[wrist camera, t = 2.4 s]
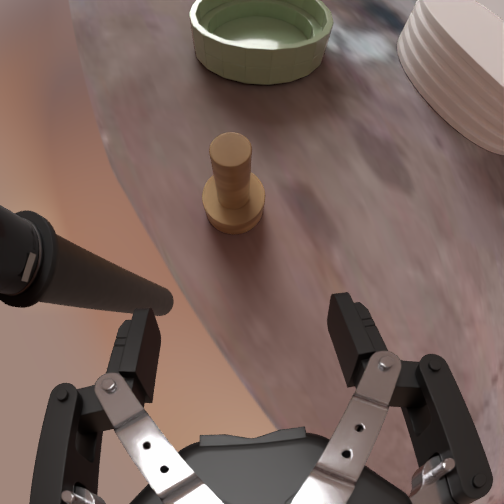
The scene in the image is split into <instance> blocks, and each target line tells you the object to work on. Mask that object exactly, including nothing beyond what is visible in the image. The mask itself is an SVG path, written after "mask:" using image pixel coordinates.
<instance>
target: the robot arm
mask: <svg viewBox="0 0 504 504" xmlns="http://www.w3.org/2000/svg"><path fill="white" fill-rule="evenodd" d="M43 260H44V243H43V238H42V235H41V233H40V231H39V229H38V227H37V226H36V225H35V224H34V223H32V222H31V221H29V220H27V219H25V218H22V217H20V216H18V215H16V214H15V213H13V212H11V211H10V210H8V209H6V208H4V207H2V206H1V205H0V293H3V294H5V295H10V296H19V295H22V294H24V293H26V292H27V291H28V290H29V289H30V288H31V287H32V286H33V285H34V284H35V282H36V280H37V279H38V277H39V274H40V272H41V269H42V265H43ZM327 325H328V331H329V334H330V337H331V340H332V342H333V345H334V348H335V351H336V354H337V357H338V360H339V363H340V366H341V369H342V372H343V375H344V378H345V381H346V384H347V387H353V386H355V387H356V391H355V393H354V394H353V396H352V398H351V400H350V402H349V404H348V406H347V408H346V410H345V412H344V414H343V416H342V418H341V420H340V422H339V424H338V426H337V428H336V430H335V431H334V433H333V435H332V437H331V439H330V440H329V439H328V438H325V437H323V436H320V435H317V434H312V433H306V430H305V427H298V428H291V429H283V430H278V431H275V432H272V433H269V434H266V435H263V436H260V437H257V438H245V437H238V436H232V435H225V434H224V435H200V442H196V443H193V444H191V445H189V446H187V447H185V448H183V449H182V450H180V451H179V452H177V451H176V450H175V449H174V448H173V447H172V445H171V444H170V443H169V441H168V440H167V439H166V437H165V436H164V435H163V433H162V432H161V431H160V430H159V428H158V427H157V426H156V424H155V423H154V421H153V420H152V419H151V417H150V416H149V415H148V413H147V412H146V411H145V410H144V403H152V401H153V393H154V386H155V379H156V371H157V365H158V358H159V352H160V346H161V335H160V330H159V328H158V324H157V321H156V318H155V315H154V312H153V310H152V308H136V309H135V310H134V313H133V316H132V320H125V321H124V323H123V324H122V325H121V326H120V328H119V329H118V333H117V336H116V340H115V343H114V347H113V350H112V353H111V357H110V361H109V364H108V368H107V372H106V374H104V375H102V376H101V377H99V378H98V380H97V381H96V383H95V385H92V386H89V387H85V388H81V389H76V388H75V387H74V386H73V385H72V384H70V383H62V384H59V385H57V386H56V387H55V388H54V389H53V390H52V392H51V394H50V398H49V401H48V405H47V409H46V413H45V418H44V421H43V426H42V430H41V435H40V440H39V444H38V450H37V455H36V460H35V466H34V473H33V479H32V486H31V495H30V503H29V504H106V503H105V502H104V500H103V499H102V498H101V497H99V496H97V490H98V475H99V463H100V452H101V443H102V434H103V431H106V430H110V429H114V431H115V433H116V435H117V436H118V438H119V439H120V441H121V443H122V444H123V446H124V448H125V449H126V451H127V452H128V454H129V455H130V457H131V459H132V460H133V462H134V463H135V465H136V466H137V467H138V469H139V470H140V472H141V473H142V475H143V476H144V477H145V479H146V480H147V482H148V483H149V484H148V485H147V486H146V487H145V488H144V489H143V490H142V491H141V492H140V493H139V494H138V495H137V496H136V497H135V499H134V500H133V501H132V502H131V503H130V504H470V503H472V502H474V501H476V500H478V499H480V498H481V497H483V496H485V495H486V494H487V493H488V492H489V490H490V489H491V487H492V483H493V476H492V472H491V469H490V466H489V463H488V460H487V457H486V455H485V452H484V449H483V446H482V444H481V441H480V438H479V436H478V433H477V430H476V428H475V425H474V423H473V420H472V418H471V415H470V413H469V411H468V408H467V406H466V404H465V401H464V399H463V397H462V394H461V392H460V390H459V388H458V386H457V383H456V381H455V379H454V377H453V375H452V373H451V371H450V369H449V366H448V364H447V363H446V361H445V360H444V359H443V358H442V357H440V356H438V355H435V354H428V355H425V356H424V357H422V359H421V360H420V362H412V361H402V360H400V359H399V357H398V356H397V355H395V354H394V353H392V352H389V351H388V350H387V348H386V345H385V343H384V341H383V339H382V337H381V335H380V333H379V331H378V329H377V327H376V326H375V323H374V321H373V319H372V317H371V315H370V313H369V311H368V309H367V308H366V307H365V306H364V305H363V304H361V303H360V302H356V303H354V302H353V300H352V298H351V296H350V294H349V293H348V292H345V293H337V294H332V295H331V298H330V305H329V311H328V318H327ZM389 406H393V407H401V409H402V412H403V415H404V418H405V421H406V425H407V428H408V431H409V434H410V438H411V441H412V444H413V448H414V451H415V455H416V458H417V462H418V465H419V469H417V470H416V471H415V473H414V474H413V477H412V490H411V493H410V495H409V497H408V496H407V494H406V493H404V492H403V491H402V490H400V489H399V488H397V487H396V486H394V485H393V484H391V483H390V482H388V481H387V480H385V479H384V478H382V477H381V476H379V475H378V474H377V473H375V472H374V471H372V470H371V469H369V468H368V467H367V466H365V464H366V462H367V459H368V457H369V455H370V453H371V451H372V448H373V446H374V444H375V442H376V439H377V437H378V434H379V432H380V430H381V427H382V425H383V422H384V420H385V417H386V415H387V412H388V409H389Z"/></svg>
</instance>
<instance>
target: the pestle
mask: <svg viewBox="0 0 504 504" xmlns="http://www.w3.org/2000/svg"><path fill="white" fill-rule="evenodd" d="M209 153H210V159H211V164H212V169H213V176H212V177H211V178H210V179H209V180H208V181H207V183H206V184H205V187H204V189H203V194H202V201H203V205H204V208H205V211H206V214H207V217H208V220H209V221H210V223H211V224H212V225H213V226H214V227H215V228H216V229H218V230H219V231H221V232H223V233H226V234H242V233H245V232H247V231H249V230H251V229H252V228H253V227H255V226H256V224H257V223H258V222H259V220H260V219H261V216H262V213H263V208H264V202H265V191H264V187H263V185H262V183H261V181H260V180H259V179H258V178H257V177H256V176H255V175H254V174H253V173H251V155H252V147H251V144H250V142H249V140H248V139H247V138H246V137H245V136H243V135H241V134H239V133H235V132H227V133H223V134H221V135H219V136H217V137H216V138H215V139H214V140H213V141H212V143H211V145H210V149H209Z"/></svg>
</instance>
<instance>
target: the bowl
mask: <svg viewBox="0 0 504 504" xmlns="http://www.w3.org/2000/svg"><path fill="white" fill-rule="evenodd" d="M189 17H190V24H191V31H192V38H193V44H194V49H195V53H196V56H197V58H198V60H199V61H200V62H201V63H202V64H203V65H204V66H205V67H206V68H207V69H208V70H210V71H212V72H214V73H216V74H218V75H220V76H221V77H223V78H227V79H231V80H235V81H239V82H243V83H249V84H266V85H270V84H277V83H285V82H291V81H294V80H296V79H299V78H302V77H304V76H307V75H309V74H310V73H311V72H312V71H314V70H315V69H316V68H317V67H318V66H320V64H321V62H322V59H323V57H324V54H325V51H326V48H327V44H328V41H329V37H330V34H331V30H332V27H333V19H332V15H331V12H330V10H329V9H328V8H327V7H326V6H325V4H324V3H323V2H322V1H321V0H197V1H196V2H195V3H194V4H193V5H192V8H191V11H190V13H189Z"/></svg>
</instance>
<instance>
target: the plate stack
mask: <svg viewBox="0 0 504 504" xmlns="http://www.w3.org/2000/svg"><path fill="white" fill-rule="evenodd" d="M397 52H398V57H399V60H400V62H401V65H402V67H403V69H404V71H405V72H406V74H407V76H408V78H409V79H410V81H411V82H412V84H413V85H414V86H415V88H416V89H417V90H418V92H419V93H420V94H421V95H422V97H423V98H424V99H425V100H426V101H427V102H428V103H429V105H430V106H431V107H432V108H433V109H434V110H435V111H436V112H437V113H438V114H439V115H440V116H441V117H442V118H443V119H444V120H445V121H446V122H448V123H449V124H450V125H451V126H452V127H453V128H454V129H456V130H457V131H458V132H459V133H461V134H462V135H463V136H465V137H466V138H467V139H469V140H470V141H472V142H473V143H475V144H477V145H478V146H480V147H482V148H484V149H486V150H488V151H490V152H493V153H496V154H500V155H504V21H503V20H502V19H501V18H499V17H498V16H497V15H496V14H494V13H493V12H492V11H490V10H489V9H488V8H486V7H485V6H483V5H482V4H480V3H478V2H477V1H475V0H417V2H416V4H415V6H414V8H413V11H412V12H411V14H410V16H409V18H408V21H407V22H406V24H405V26H404V28H403V31H402V32H401V34H400V36H399V38H398V41H397Z"/></svg>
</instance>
